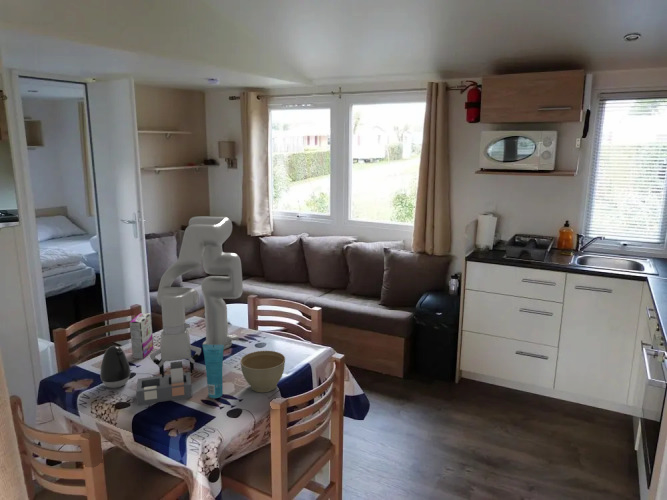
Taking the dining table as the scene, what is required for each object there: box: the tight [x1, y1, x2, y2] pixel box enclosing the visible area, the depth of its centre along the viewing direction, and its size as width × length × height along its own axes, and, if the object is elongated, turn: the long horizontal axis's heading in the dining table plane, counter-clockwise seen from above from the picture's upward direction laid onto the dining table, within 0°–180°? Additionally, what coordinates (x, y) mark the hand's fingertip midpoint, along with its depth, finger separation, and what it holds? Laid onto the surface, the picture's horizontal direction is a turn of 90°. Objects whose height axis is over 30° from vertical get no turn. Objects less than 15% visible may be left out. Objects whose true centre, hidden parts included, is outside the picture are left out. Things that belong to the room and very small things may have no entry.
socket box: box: [135, 371, 193, 406], centre depth 175 cm, size 18×10×5 cm, turn 108°
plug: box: [169, 360, 184, 384], centre depth 176 cm, size 4×4×10 cm
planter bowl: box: [239, 350, 286, 393], centre depth 181 cm, size 16×16×11 cm
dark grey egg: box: [100, 345, 131, 389], centre depth 181 cm, size 10×10×15 cm
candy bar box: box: [128, 312, 155, 360], centre depth 209 cm, size 11×5×16 cm, turn 179°
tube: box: [202, 343, 225, 399], centre depth 174 cm, size 7×5×19 cm, turn 96°
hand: (177, 373), depth 176 cm, fingers open, 9 cm apart
